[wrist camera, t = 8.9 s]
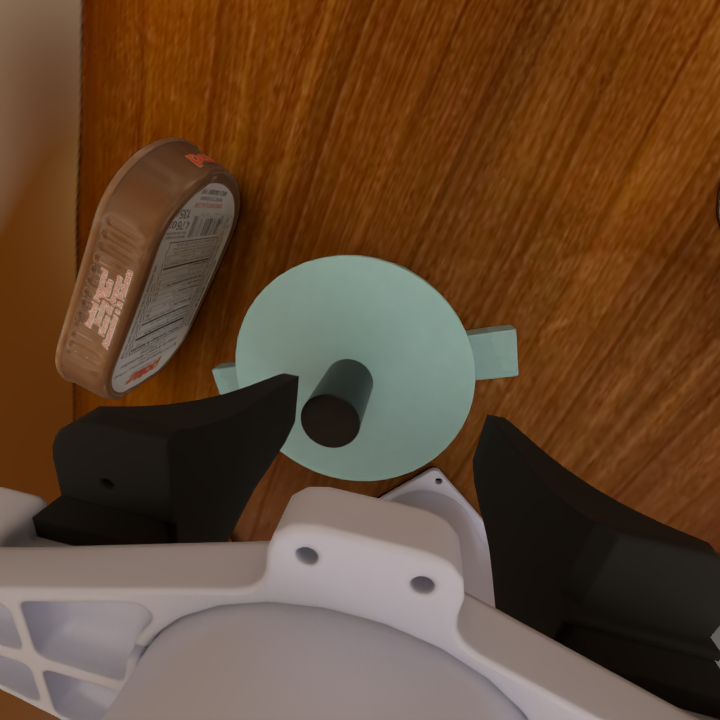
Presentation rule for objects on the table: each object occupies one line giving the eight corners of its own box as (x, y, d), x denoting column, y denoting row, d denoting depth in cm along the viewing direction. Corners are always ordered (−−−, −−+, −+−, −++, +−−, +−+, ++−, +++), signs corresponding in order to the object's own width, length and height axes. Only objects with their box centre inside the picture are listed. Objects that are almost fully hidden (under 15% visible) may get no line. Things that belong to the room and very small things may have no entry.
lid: (481, 462, 19) (501, 538, 14) (277, 474, 22) (237, 542, 17) (459, 230, 15) (476, 230, 11) (215, 277, 18) (142, 295, 13)
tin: (223, 151, 21) (105, 106, 13) (268, 182, 21) (178, 156, 13) (144, 349, 27) (29, 400, 19) (181, 372, 27) (81, 432, 19)
